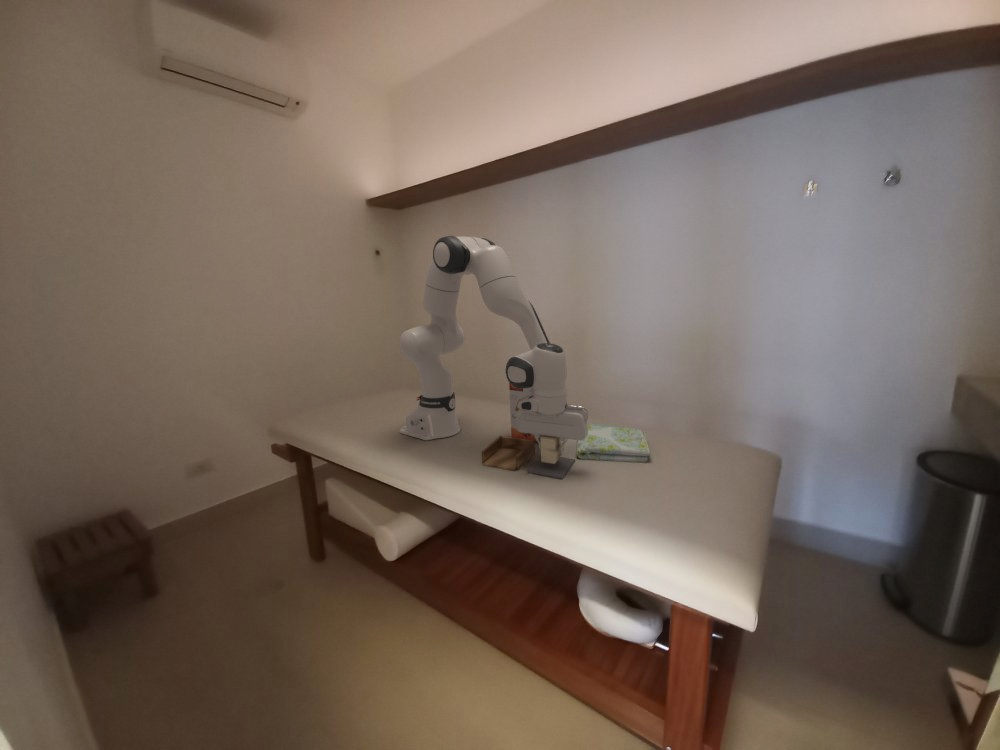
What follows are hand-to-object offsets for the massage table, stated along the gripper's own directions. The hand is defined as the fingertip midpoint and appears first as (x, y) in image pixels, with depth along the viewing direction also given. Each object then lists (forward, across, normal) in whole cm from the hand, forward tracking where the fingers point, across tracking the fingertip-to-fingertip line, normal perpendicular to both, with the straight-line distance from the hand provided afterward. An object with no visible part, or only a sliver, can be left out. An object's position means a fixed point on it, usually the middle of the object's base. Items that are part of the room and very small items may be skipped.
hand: (551, 449), depth 112 cm
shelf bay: (+5, +14, 0) cm, 15 cm away
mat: (+5, 0, 0) cm, 5 cm away
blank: (+3, 0, 0) cm, 3 cm away
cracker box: (+6, +13, -18) cm, 23 cm away
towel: (+6, -13, -19) cm, 24 cm away
